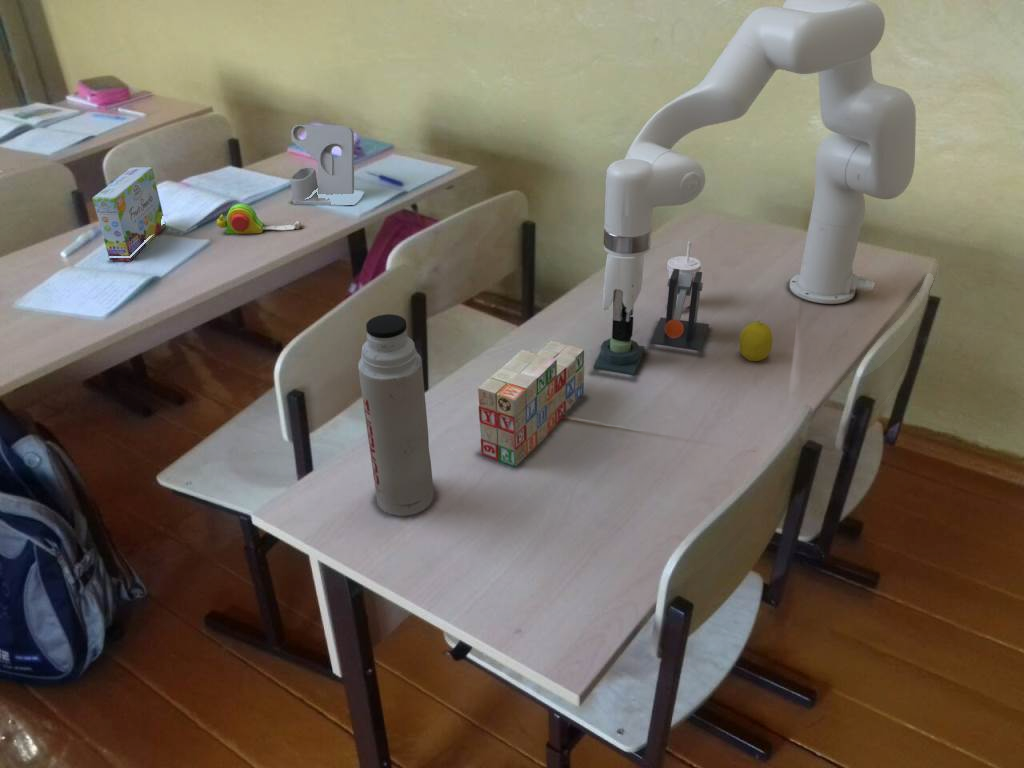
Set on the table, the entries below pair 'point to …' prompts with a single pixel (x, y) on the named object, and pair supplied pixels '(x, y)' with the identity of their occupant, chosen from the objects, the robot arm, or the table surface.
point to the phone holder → (324, 163)
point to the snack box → (129, 212)
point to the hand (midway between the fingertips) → (622, 337)
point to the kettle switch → (679, 306)
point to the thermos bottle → (396, 417)
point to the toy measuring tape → (247, 221)
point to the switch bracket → (692, 329)
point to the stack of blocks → (528, 400)
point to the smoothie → (684, 269)
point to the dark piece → (619, 359)
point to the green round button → (620, 346)
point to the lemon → (755, 341)
